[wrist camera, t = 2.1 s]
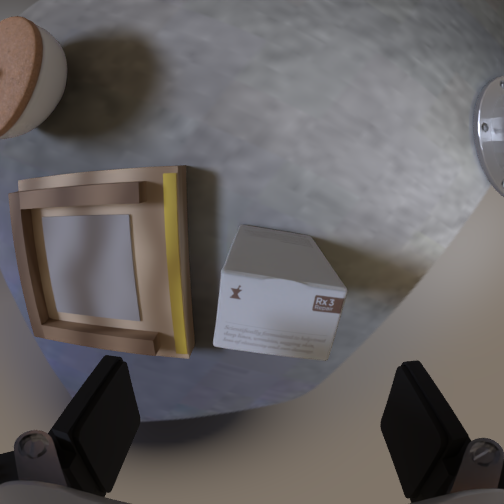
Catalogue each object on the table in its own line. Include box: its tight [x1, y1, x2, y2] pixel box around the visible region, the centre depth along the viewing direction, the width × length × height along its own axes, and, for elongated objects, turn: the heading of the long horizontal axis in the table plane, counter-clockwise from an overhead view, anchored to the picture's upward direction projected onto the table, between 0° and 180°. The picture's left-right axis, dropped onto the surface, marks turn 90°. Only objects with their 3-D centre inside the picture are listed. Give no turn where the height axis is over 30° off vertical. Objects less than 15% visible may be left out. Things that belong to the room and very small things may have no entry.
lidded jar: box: [0, 16, 67, 139], centre depth 19 cm, size 11×11×9 cm
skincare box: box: [213, 225, 347, 361], centre depth 21 cm, size 6×4×12 cm
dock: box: [9, 165, 195, 359], centre depth 26 cm, size 16×16×4 cm
